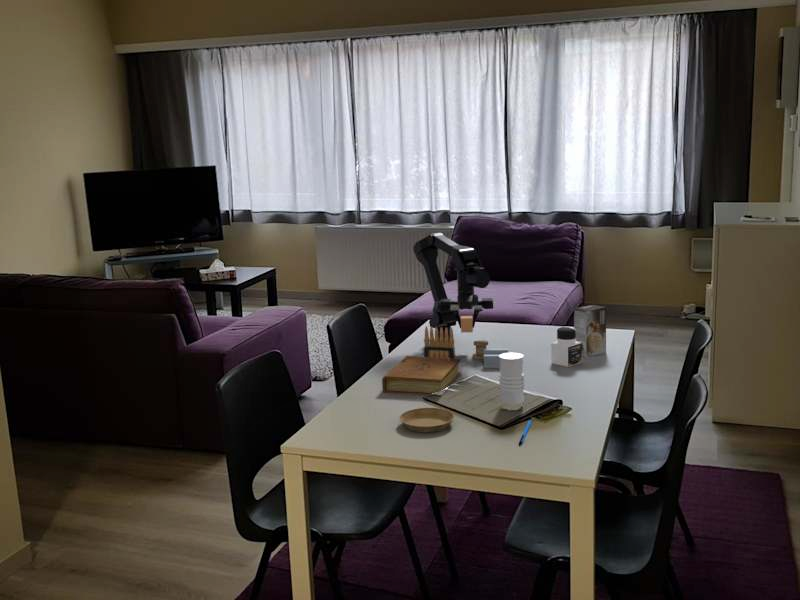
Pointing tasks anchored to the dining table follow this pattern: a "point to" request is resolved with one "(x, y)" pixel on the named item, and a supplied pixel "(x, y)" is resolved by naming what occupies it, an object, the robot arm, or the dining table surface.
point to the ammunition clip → (445, 344)
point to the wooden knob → (479, 349)
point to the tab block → (466, 324)
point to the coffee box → (591, 329)
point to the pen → (525, 432)
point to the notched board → (493, 357)
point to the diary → (421, 375)
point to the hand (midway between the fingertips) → (466, 328)
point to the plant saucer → (426, 419)
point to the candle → (511, 378)
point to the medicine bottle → (566, 348)
